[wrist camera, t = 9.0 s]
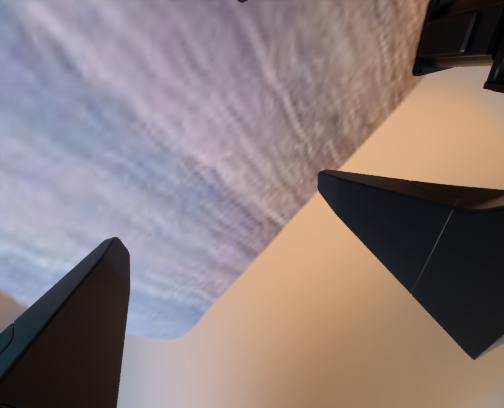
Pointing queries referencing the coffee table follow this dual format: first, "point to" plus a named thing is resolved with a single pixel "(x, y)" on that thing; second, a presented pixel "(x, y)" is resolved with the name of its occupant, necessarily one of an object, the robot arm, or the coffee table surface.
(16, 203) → the coffee table surface
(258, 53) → the coffee table surface
